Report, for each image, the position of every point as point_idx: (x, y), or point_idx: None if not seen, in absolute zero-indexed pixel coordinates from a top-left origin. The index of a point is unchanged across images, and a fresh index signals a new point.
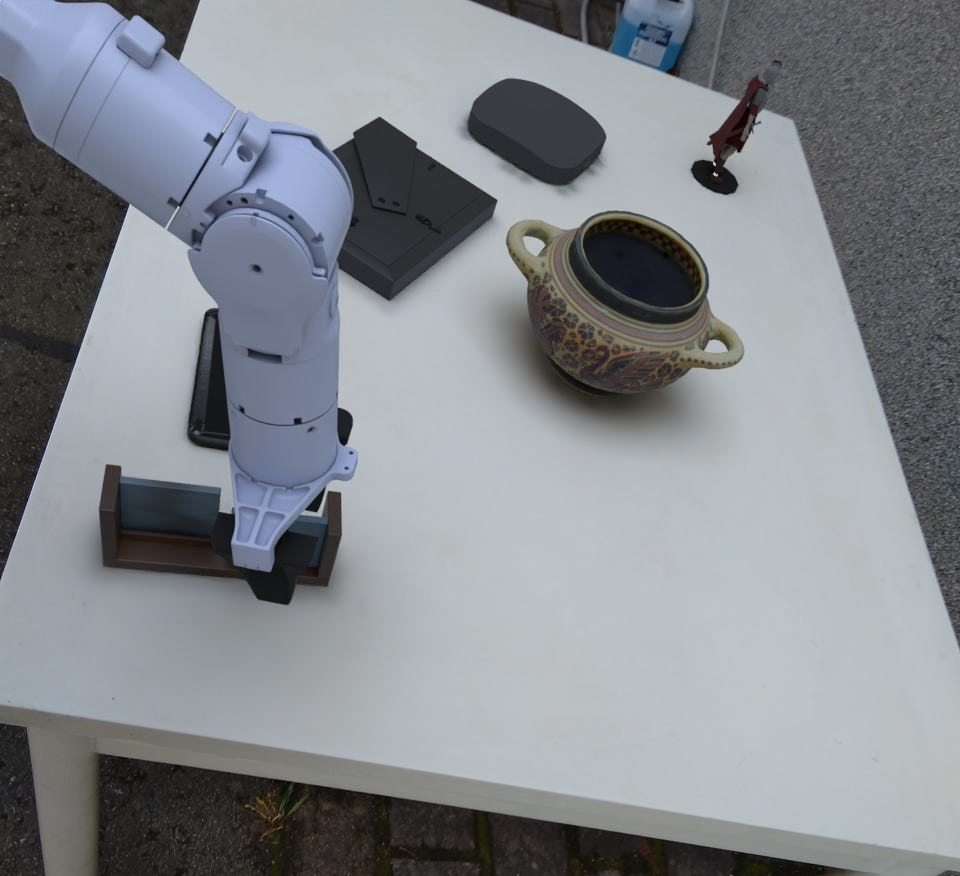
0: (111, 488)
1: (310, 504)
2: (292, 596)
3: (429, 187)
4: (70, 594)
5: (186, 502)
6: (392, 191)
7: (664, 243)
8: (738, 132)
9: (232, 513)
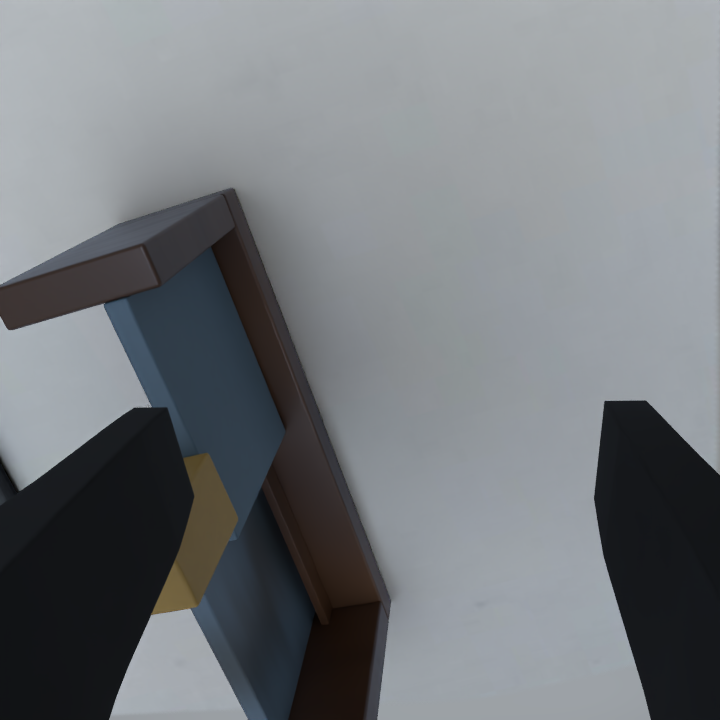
0: None
1: (159, 455)
2: (670, 427)
3: None
4: (470, 627)
5: (240, 602)
6: None
7: None
8: None
9: (236, 537)
